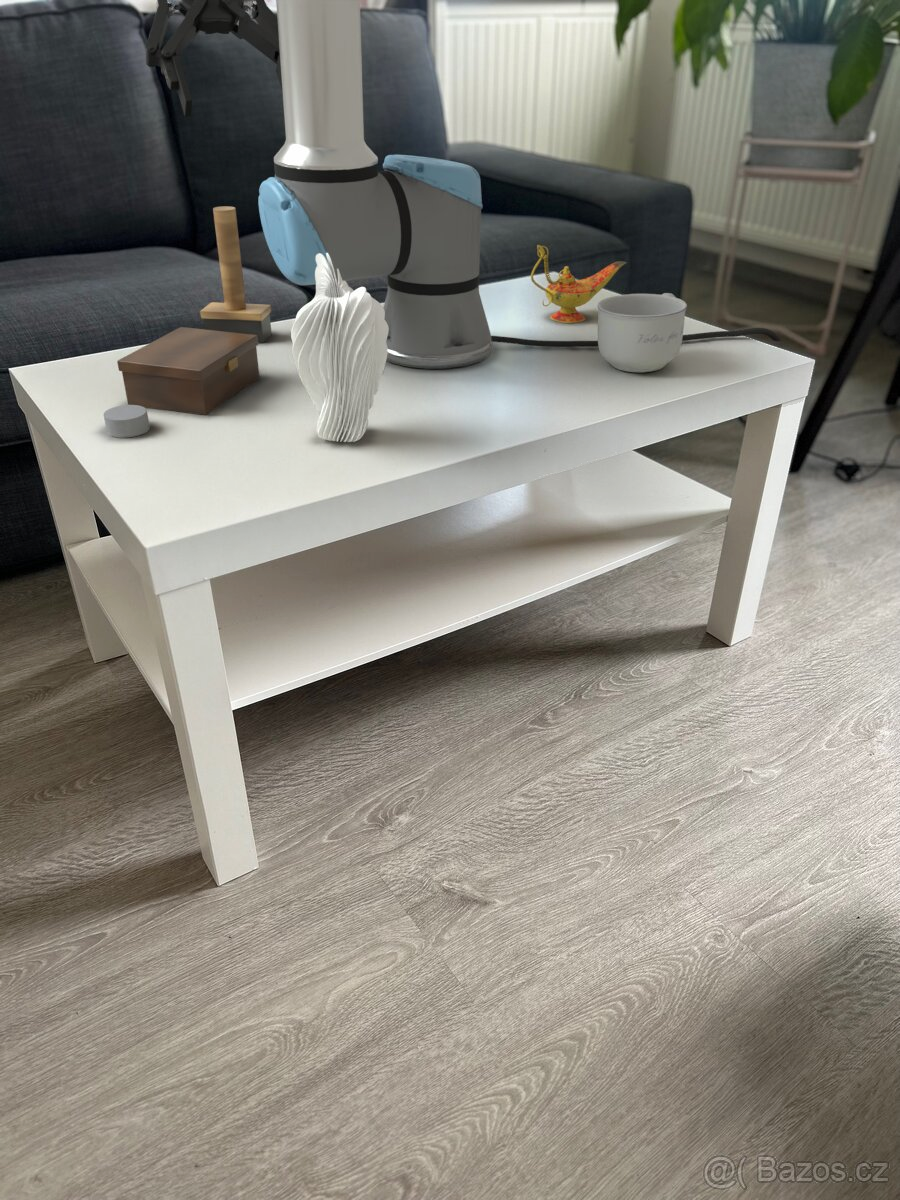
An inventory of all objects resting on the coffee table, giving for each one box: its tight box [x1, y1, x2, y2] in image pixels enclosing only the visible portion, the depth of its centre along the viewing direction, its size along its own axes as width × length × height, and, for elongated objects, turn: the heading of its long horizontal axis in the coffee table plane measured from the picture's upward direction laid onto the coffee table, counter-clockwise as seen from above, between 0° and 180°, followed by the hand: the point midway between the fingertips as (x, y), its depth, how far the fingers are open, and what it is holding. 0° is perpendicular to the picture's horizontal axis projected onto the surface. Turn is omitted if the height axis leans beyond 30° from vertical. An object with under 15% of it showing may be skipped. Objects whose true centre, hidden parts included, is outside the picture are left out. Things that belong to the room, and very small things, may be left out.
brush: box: [199, 205, 272, 344], centre depth 122 cm, size 8×4×16 cm, turn 83°
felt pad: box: [103, 404, 151, 439], centre depth 99 cm, size 4×4×2 cm
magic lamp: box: [530, 244, 627, 324], centre depth 134 cm, size 7×18×11 cm, turn 125°
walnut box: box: [116, 326, 260, 416], centre depth 108 cm, size 11×13×5 cm
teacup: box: [597, 292, 688, 373], centre depth 117 cm, size 14×11×8 cm
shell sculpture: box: [290, 253, 389, 443], centre depth 93 cm, size 8×8×18 cm
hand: (242, 107), depth 118 cm, fingers open, 13 cm apart
